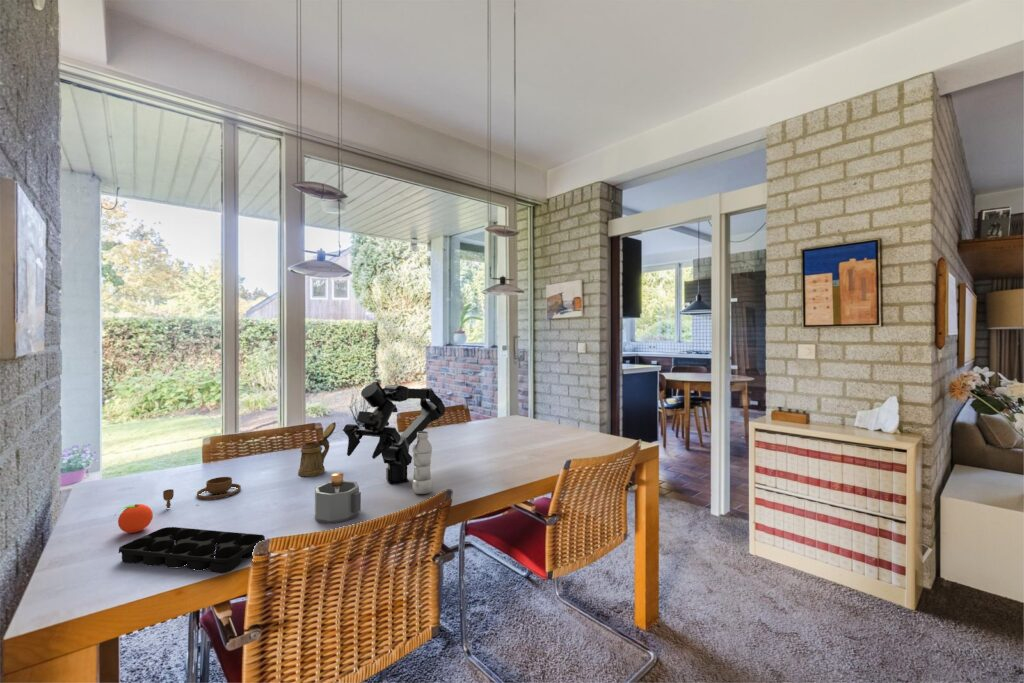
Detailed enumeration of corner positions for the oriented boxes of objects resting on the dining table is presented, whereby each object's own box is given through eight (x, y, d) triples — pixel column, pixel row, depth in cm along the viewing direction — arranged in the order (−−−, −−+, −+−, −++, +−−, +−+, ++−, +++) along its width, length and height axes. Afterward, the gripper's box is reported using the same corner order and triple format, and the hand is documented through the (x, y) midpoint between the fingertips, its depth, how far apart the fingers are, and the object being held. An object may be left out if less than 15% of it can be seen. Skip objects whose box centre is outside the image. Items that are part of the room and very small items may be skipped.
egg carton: (155, 540, 111) (155, 525, 110) (278, 538, 112) (278, 524, 112) (92, 579, 93) (92, 561, 93) (239, 576, 95) (239, 558, 95)
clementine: (107, 540, 109) (107, 511, 109) (119, 529, 116) (119, 502, 116) (147, 534, 113) (147, 507, 113) (156, 524, 119) (156, 498, 119)
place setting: (242, 499, 139) (242, 481, 139) (161, 513, 127) (161, 493, 127) (239, 484, 153) (239, 467, 153) (166, 495, 142) (166, 477, 142)
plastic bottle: (415, 498, 140) (415, 435, 140) (409, 491, 146) (410, 431, 146) (434, 494, 143) (435, 433, 143) (428, 488, 149) (429, 429, 149)
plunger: (334, 503, 131) (334, 468, 131) (358, 506, 129) (358, 471, 129) (314, 514, 123) (314, 477, 123) (339, 518, 121) (339, 480, 121)
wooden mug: (340, 470, 167) (340, 423, 167) (302, 478, 158) (303, 428, 158) (331, 465, 174) (331, 420, 174) (294, 472, 164) (294, 424, 164)
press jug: (333, 505, 133) (333, 478, 133) (370, 510, 130) (370, 483, 130) (305, 520, 122) (305, 491, 122) (344, 526, 119) (345, 497, 118)
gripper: (346, 399, 145) (323, 440, 135) (396, 402, 140) (375, 445, 130) (361, 419, 153) (340, 459, 143) (408, 422, 148) (390, 464, 137)
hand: (360, 456), depth 138 cm, fingers open, 9 cm apart
